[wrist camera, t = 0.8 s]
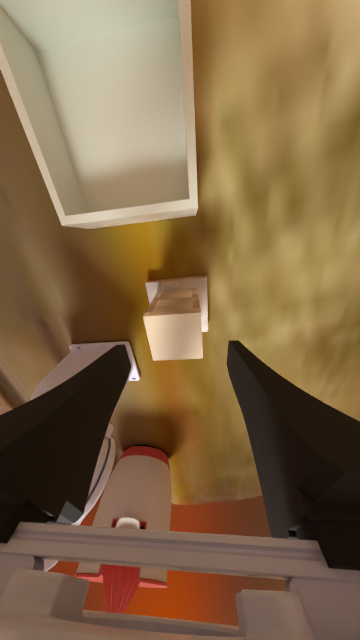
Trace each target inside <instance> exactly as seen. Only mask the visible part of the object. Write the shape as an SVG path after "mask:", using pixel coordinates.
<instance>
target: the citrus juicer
mask: <svg viewBox="0 0 360 640" xmlns="http://www.w3.org/2000/svg"><path fill="white" fill-rule="evenodd" d="M170 514H171V478H170V467H169V462H168V458H167V456H166V454H165V453H163V452H162V450H160V449H155V448H152V447H147V446H131V447H130V448H128V449H126V450H125V451H124V453H123V454H122V456H121V457H120V459H119V460H118V462H117V465H116V467H115V468H114V470H113V472H112V474H111V476H110V478H109V481H108V483H107V485H106V487H105V490H104V493H103V495H102V498H101V501H100V504H99V507H98V510H97V513H96V516H95V519H94V522H93V525H92V526H95V527H110V528H126V529H142V530H158V531H170V516H171V515H170ZM74 577H77V578H83V579H88V580H89V581H94V582H101V583H103V587H104V596H105V602H106V607H107V612H110V613H121V614H123V613H124V611H125V609H126V608H127V606H128V604H129V603H130V601H131V599H132V598H133V596H134V594H135V592H136V590H137V588H138V586H140V587H155V588H166V587H167V586H168V584H167V583H166V579H167V570H166V569H154V568H142V567H130V566H118V565H106V564H94V563H82V562H80V564H79V566H78V569H77V572H76V574H74Z"/></svg>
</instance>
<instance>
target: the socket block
mask: <svg viewBox="0 0 360 640" xmlns="http://www.w3.org/2000/svg"><path fill="white" fill-rule="evenodd" d="M143 319H144V324H145V328H146V332H147V336H148V340H149V344H150V349H151V353H152V357H153V360H176V359H198V358H203V350H202V324H201V309H200V304H199V299H198V293H197V289H190V290H178V291H166V292H157V294H156V295H155V297H154V299H153V300H152V302H151V304H150V305H149V307H148V309H147V310H146V312H145V314H144V315H143Z"/></svg>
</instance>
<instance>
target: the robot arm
mask: <svg viewBox="0 0 360 640" xmlns="http://www.w3.org/2000/svg"><path fill="white" fill-rule="evenodd" d="M69 348H70V350H71V352H70V353H69V354H68V355H67V356H66V357H65V358H64V359H63V360H62V361H61V362H60V363H59V364H58V365H57V366H55V367H54V368H53V369H52V370H51V371H50V372H49V373H48V374H47V375H46V376H45V377H44V378H43V379H42V380H41V381H40V382H39V383H38V385H37V386H36V388H35V390H34V392H33V394H32V397H31V401H29V402H27V403H25V404H23V405H21V406H19V407H17V408H15V409H13V410H11V411H9V412H6V413H5V414H2V415H0V640H360V421H358V420H356V419H354V418H352V417H350V416H348V415H346V414H344V413H342V412H340V411H338V410H336V409H334V408H332V407H331V406H329V405H327V404H325V403H323V402H322V401H320V400H318V399H316V398H315V397H313V396H311V395H310V394H308V393H306V392H305V391H303V390H301V389H300V388H298V387H297V386H295V385H294V384H292V383H291V382H289V381H288V380H286V379H285V378H283V377H282V376H280V375H279V374H277V373H276V372H275V371H273V370H272V369H271V368H270V367H268V366H267V365H266V364H264V363H263V362H262V361H261V360H260V359H258V358H257V357H256V356H255V355H254V354H253V353H252V352H250V351H249V350H248V349H247V348H246V347H245V346H244V345H243V344H242V343H240V342H239V341H229V345H228V356H227V367H228V372H229V376H230V379H231V382H232V385H233V388H234V391H235V394H236V396H237V399H238V402H239V405H240V407H241V410H242V413H243V416H244V420H245V423H246V427H247V431H248V435H249V439H250V443H251V447H252V451H253V455H254V459H255V463H256V468H257V472H258V476H259V481H260V485H261V490H262V494H263V498H264V504H265V508H266V513H267V518H268V523H269V527H270V532H271V535H272V538H267V537H252V536H236V535H221V534H204V533H189V532H172V531H158V530H142V529H126V528H110V527H95V526H79V525H80V523H81V522H82V520H83V519H84V517H85V516H86V515H87V514H88V512H89V511H90V510H91V509H92V508H93V506H94V505H95V503H96V502H97V500H98V499H99V497H100V495H101V493H102V491H103V489H104V487H105V485H106V483H107V481H108V478H109V476H110V473H111V470H112V467H113V463H114V458H115V441H114V439H113V438H112V437H111V434H112V432H113V429H114V426H113V425H111V424H110V422H111V420H112V418H113V415H114V413H115V411H116V408H117V406H118V403H119V401H120V399H121V396H122V394H123V392H124V389H125V387H126V385H127V382H128V381H138V380H140V374H139V371H138V368H137V365H136V362H135V358H134V355H133V352H132V349H131V346H130V343H129V342H127V341H122V342H104V343H87V344H72V345H70V346H69ZM58 561H70V562H82V563H94V564H106V565H118V566H130V567H142V568H154V569H166V570H178V571H191V572H202V573H213V574H225V575H237V576H249V577H262V578H274V579H286V582H285V584H284V591H266V590H265V591H264V590H242V592H241V593H237V595H236V604H237V611H238V619H239V627H237V626H229V625H221V624H213V623H204V622H196V621H188V620H180V619H171V618H162V617H152V616H141V615H132V614H121V613H110V612H99V611H88V610H83V605H84V601H85V597H86V594H87V590H88V587H89V580H88V579H83V578H77V577H72V576H68V575H65V574H62V573H53V572H46V571H48V570H49V569H50V568H52V567H53V566H54V565H55V564H56V563H57V562H58Z"/></svg>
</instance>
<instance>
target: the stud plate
mask: <svg viewBox="0 0 360 640" xmlns="http://www.w3.org/2000/svg"><path fill="white" fill-rule="evenodd" d="M145 284H146V289H147V294H148V299H149V304H151V302H152V300H153V299H154V297H155V295H156V294H157V292H166V291H178V290H190V289H197V293H198V299H199V304H200V309H201V324H202V332H204V331H208V300H207V276H206V275H202V276H191V277H180V278H170V279H159V280H148V281H147V282H146V283H145Z"/></svg>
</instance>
